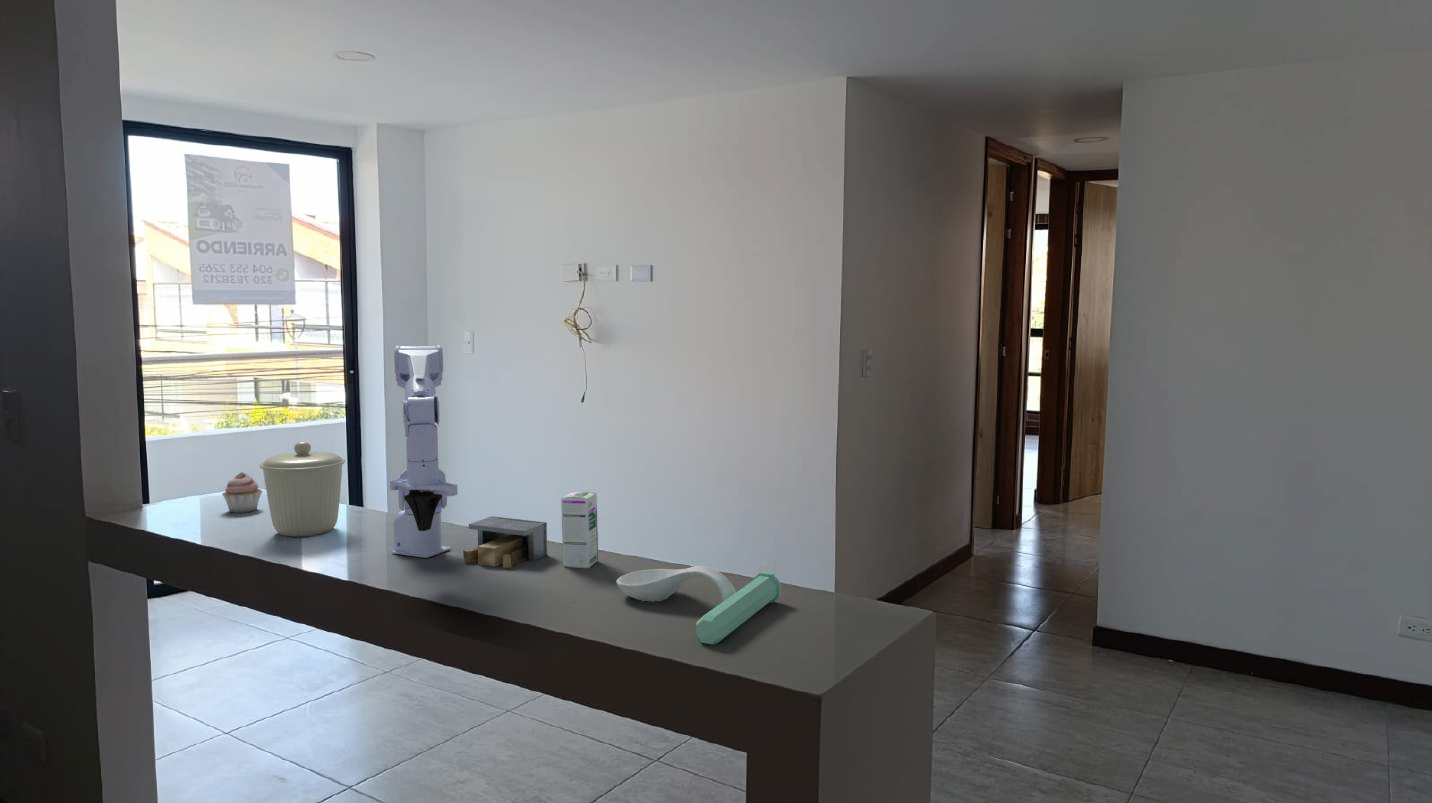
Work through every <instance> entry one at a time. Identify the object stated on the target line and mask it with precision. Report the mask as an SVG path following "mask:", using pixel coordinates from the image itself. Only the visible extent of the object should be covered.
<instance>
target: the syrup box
mask: <svg viewBox="0 0 1432 803" xmlns="http://www.w3.org/2000/svg"><path fill="white" fill-rule="evenodd" d="M597 499H598V496H597V493H596V492H591V491H575V492H574V491H571V492H570V493H569V494H567V495H565V496H563V497H561V498H560V502H561V503H560V504H561V508H560V510H561V536H562V537H561V538H562V544H561V545H562V566H563V567H566V568H574V569H575V568H576V569H577V568H578V569H590V567H591V566H593V565H594V564H595V563H596V562H598V561H599V542H598V539H599V536H598V529H599V528H598V500H597Z"/></svg>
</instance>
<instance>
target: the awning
mask: <svg viewBox="0 0 1432 803" xmlns="http://www.w3.org/2000/svg"><path fill="white" fill-rule="evenodd" d="M547 524H548V523H547V521H546V522H544V521H539V520H538V521H536V520H527V519H519V518H510V517H504V516H503V517H501V516H500V517H499V516H487V517H486V518H482V519H480V520H478V521H474V522H471V523H468V530H473V531H474V530H475V531H477V547H475V548H468V549H463V551H462V552H463V553H462V554H463V556H462V557H463V562H464V563H465V564H469V563H476V562H478V546H480V545H483V544H486V543H488V542H491V541H493V540H496V539H499V538H501V537H504V536H507V535H509V536H517V537H523V545H522V546H520V547H517V548H515V549H512V550H510V551H507V552H505V553H504V555H503V563H502V569H512V567H513V565H514V564H517V563H519V562H521V561H524V560H526V559H528V561H532V562H534V561H537V560H539V559H542V558H543V557H545V556H547V555H548V525H547Z"/></svg>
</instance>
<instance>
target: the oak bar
mask: <svg viewBox="0 0 1432 803" xmlns="http://www.w3.org/2000/svg"><path fill="white" fill-rule="evenodd" d="M522 545H523V537H517V536H509V535H507V536H504V537H501V538H499V539H496V540H493V541H491V542H488V543H486V544H483V545H480V546H478V545H477V547H478V561H477V563H478V565H479V564H482V565H481V566H486V565H488V566H487V567H497V566H499V565H503V555H504V553H505V552H507V551H510V550H512V549H515V548H517V547H520V546H522Z"/></svg>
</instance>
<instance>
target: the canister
mask: <svg viewBox="0 0 1432 803" xmlns="http://www.w3.org/2000/svg"><path fill="white" fill-rule="evenodd" d="M311 449H312V446H311V444H310V443H309V442H307V441H299V442H297V443H295V445H294V447H293V450H294V452H288V453H283V454H282V453H281V454H277V455H272V456H270V457H268V458H267V459H265V460H264V461H262V462H260V464H259V468H260V469H262V471H263V478H264V485H265V491H266V497H267V502H268V508H269V512H270V518H271V522H272V526H273V528H274V530H275V531H276V533H277V534H278V535H282V536H286V537H293V538H294V537H295V538H296V537H298V538H300V537H311V536H312V537H313V536H316V535H317V536H318V535H322V534H325V533H327V532H329V531H330V532H331V531H332V530H333V529H334V528H335V527H336V525H337V523H338V519H339V518H338V517H339V510H340V502H341V500H340V499H341V490H342V489H341V488H342V487H341V486H342V473H343V465H344V464H345V463H346V458H344V457H341V456H340V455H338V454H336V453H333V452H328V451H327V452H326V451H312V450H311Z"/></svg>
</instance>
